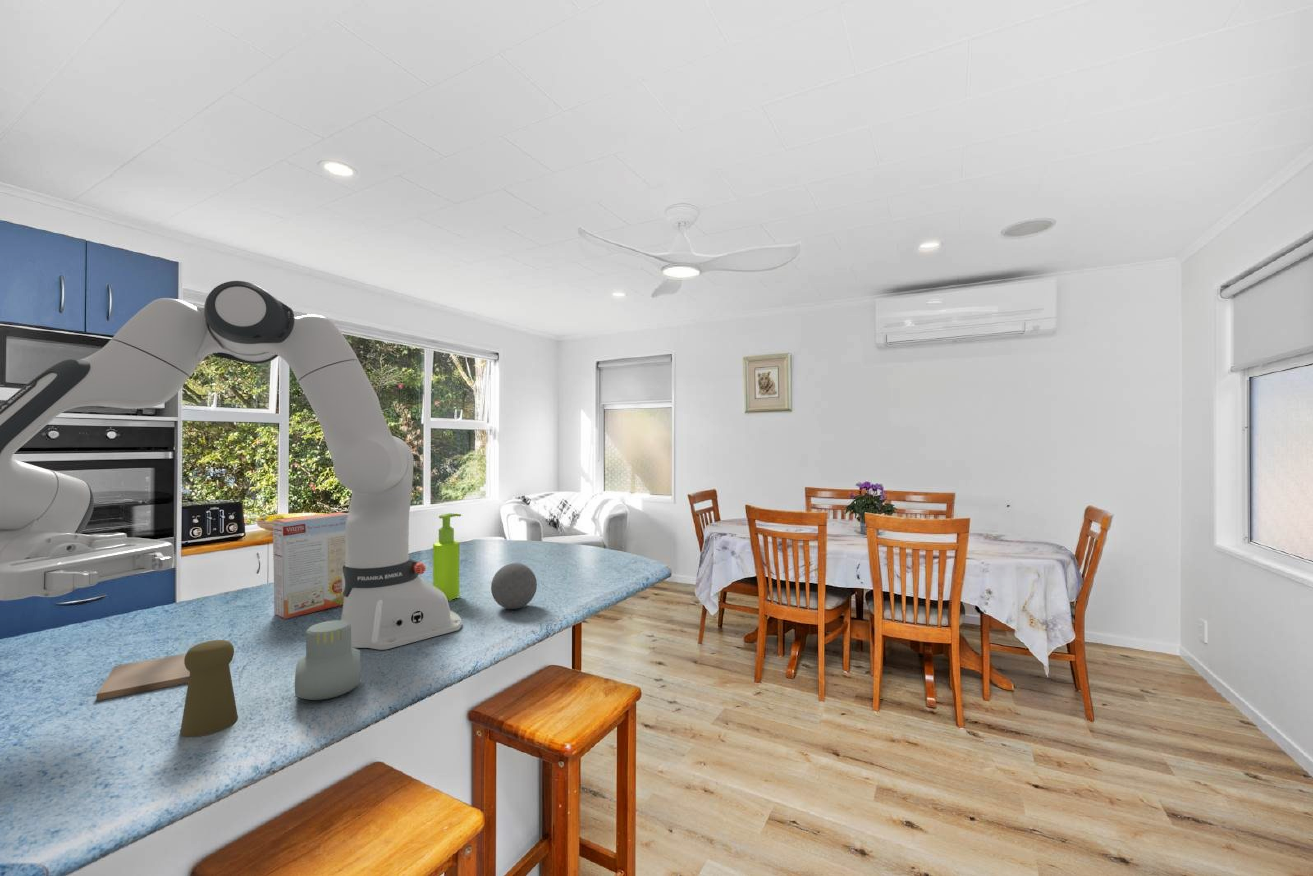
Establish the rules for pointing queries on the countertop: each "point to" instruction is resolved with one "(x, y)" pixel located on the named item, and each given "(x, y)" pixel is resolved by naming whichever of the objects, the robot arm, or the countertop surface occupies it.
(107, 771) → the countertop surface
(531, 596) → the decorative ball
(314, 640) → the air freshener
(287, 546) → the cracker box
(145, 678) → the walnut board
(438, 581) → the soap dispenser
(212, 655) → the cork
